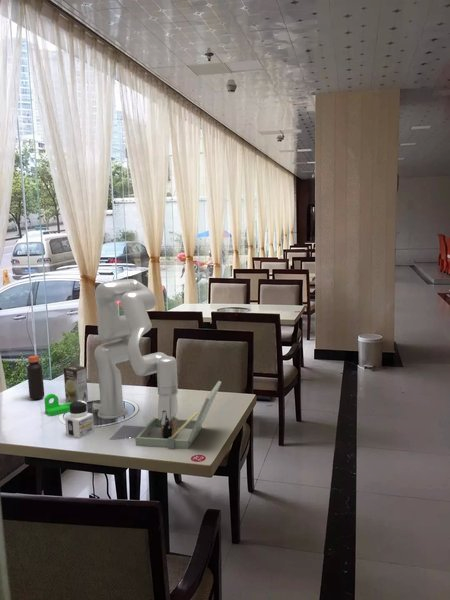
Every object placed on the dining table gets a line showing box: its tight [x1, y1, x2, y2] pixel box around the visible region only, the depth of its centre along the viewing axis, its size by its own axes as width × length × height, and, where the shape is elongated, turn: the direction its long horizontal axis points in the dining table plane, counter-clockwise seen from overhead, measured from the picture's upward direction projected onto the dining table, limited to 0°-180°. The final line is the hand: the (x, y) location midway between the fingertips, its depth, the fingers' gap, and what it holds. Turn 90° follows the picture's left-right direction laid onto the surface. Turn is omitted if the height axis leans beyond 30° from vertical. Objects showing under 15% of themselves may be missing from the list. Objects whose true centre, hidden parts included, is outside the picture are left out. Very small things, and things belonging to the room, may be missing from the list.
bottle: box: [26, 355, 45, 400], centre depth 253 cm, size 7×7×20 cm
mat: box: [108, 424, 146, 441], centre depth 206 cm, size 11×14×1 cm
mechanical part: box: [44, 393, 72, 417], centre depth 234 cm, size 12×6×8 cm, turn 126°
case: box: [134, 380, 222, 450], centre depth 199 cm, size 29×21×20 cm
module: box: [160, 417, 179, 439], centre depth 201 cm, size 5×5×8 cm
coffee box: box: [63, 364, 89, 403], centre depth 246 cm, size 9×6×16 cm
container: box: [64, 401, 95, 439], centre depth 207 cm, size 8×8×13 cm
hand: (170, 434), depth 202 cm, fingers closed on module, 5 cm apart
